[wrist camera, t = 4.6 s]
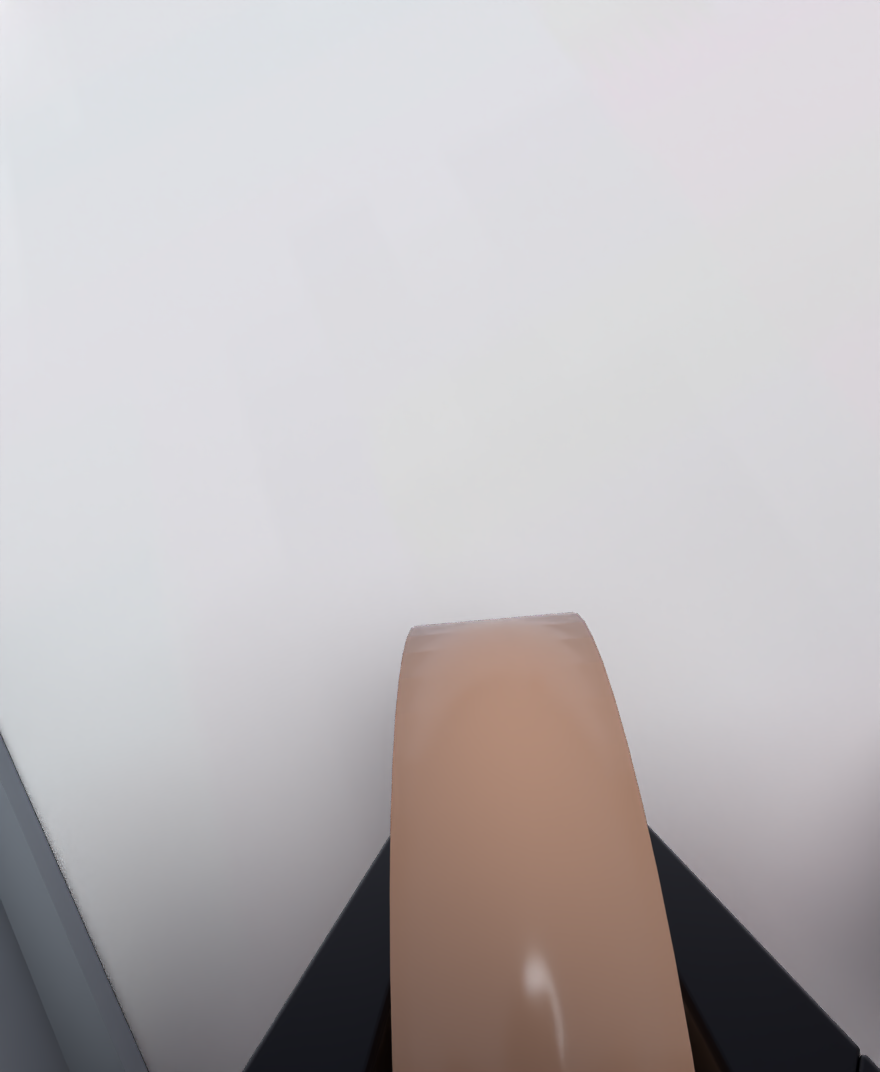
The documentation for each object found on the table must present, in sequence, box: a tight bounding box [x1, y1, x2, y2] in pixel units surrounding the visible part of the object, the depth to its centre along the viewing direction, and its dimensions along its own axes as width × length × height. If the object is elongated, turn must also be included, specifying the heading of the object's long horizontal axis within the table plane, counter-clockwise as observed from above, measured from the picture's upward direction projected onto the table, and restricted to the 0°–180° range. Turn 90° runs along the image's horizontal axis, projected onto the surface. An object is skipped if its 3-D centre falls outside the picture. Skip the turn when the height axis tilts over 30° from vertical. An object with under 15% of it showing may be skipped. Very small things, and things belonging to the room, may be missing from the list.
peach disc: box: [390, 612, 695, 1072], centre depth 10 cm, size 9×3×10 cm, turn 4°
